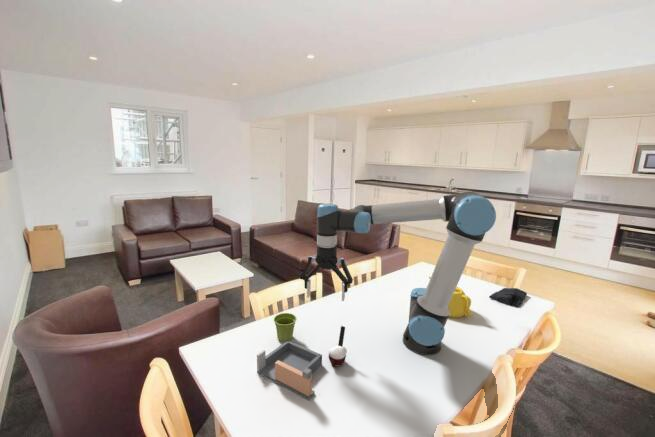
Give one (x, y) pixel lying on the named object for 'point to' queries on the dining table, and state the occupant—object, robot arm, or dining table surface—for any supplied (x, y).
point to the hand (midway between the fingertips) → (325, 298)
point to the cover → (294, 377)
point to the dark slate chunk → (509, 296)
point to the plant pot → (285, 326)
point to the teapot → (459, 304)
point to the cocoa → (338, 351)
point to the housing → (288, 362)
